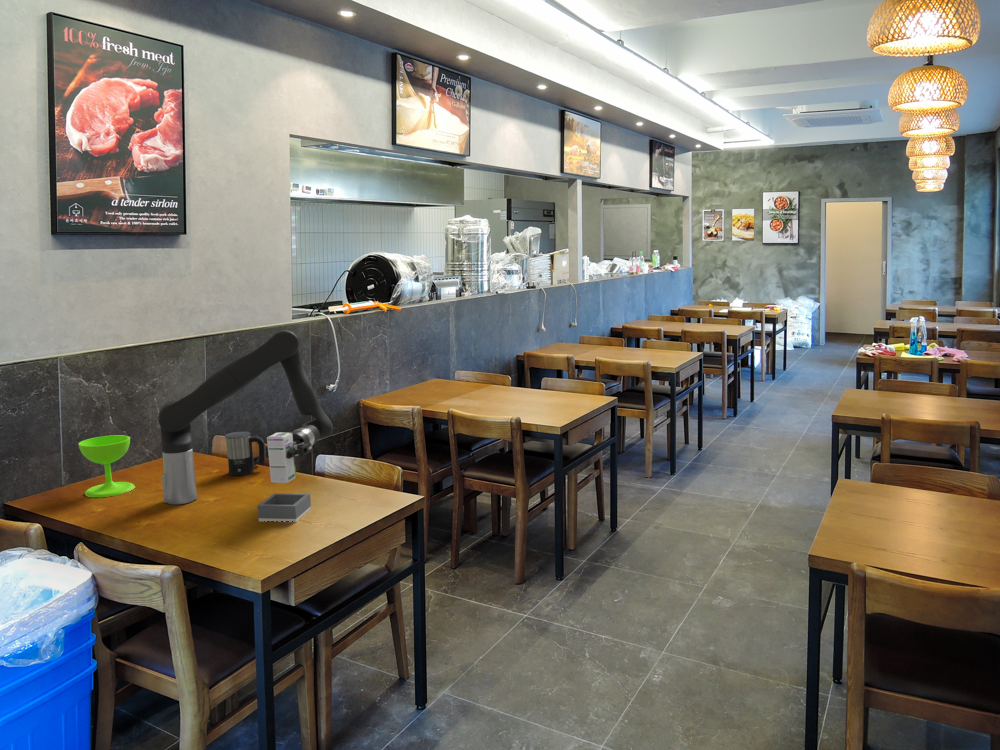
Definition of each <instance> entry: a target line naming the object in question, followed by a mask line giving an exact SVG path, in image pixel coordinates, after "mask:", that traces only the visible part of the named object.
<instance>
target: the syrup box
mask: <svg viewBox="0 0 1000 750" xmlns="http://www.w3.org/2000/svg"><path fill="white" fill-rule="evenodd" d="M266 442H267V445H268V455H269V458H268V464H269V474H270V481H271V483H276V484H289V483H290V482H291V481H293V480H294V479H296V478H297V472H296V471H297V468H296V461H295V457H296V456H294V457H292V458H291V459H288V457H287V452H288V451H289V450H291V449H293V447H294V446H293V435H292V432H283V431H282V432H275V433H273V434H271V435H269V436H267V437H266Z"/></svg>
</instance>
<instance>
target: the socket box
mask: <svg viewBox="0 0 1000 750" xmlns="http://www.w3.org/2000/svg"><path fill="white" fill-rule="evenodd" d="M310 509H312V505H311V493H279V492H278V493H275V492H274V493H273V494H271V495H270V496H269V497H267V498H266V499H264V500H263V501H261V502H260V503H259V504H258V505H257V515H258V522H264V521H265V523H267V521H270V523H272V522H271V521H274V522H275V523H276V521H278V522H277V523H287V522H286V521H289V522H288V523H297V522H298V521H300V520H301V519H302V518H303V517H304V516H305V515H306V514H308V513H309V512H310V511H311V510H310ZM309 510H310V511H309ZM303 515H304V516H303ZM302 516H303V517H302ZM301 517H302V518H301ZM300 518H301V519H300ZM281 521H283V522H281ZM292 521H293V522H292ZM296 521H297V522H296Z"/></svg>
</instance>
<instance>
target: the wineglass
mask: <svg viewBox="0 0 1000 750" xmlns="http://www.w3.org/2000/svg"><path fill="white" fill-rule="evenodd" d="M130 444H131V437H130V436H128V435H122V434H121V435H120V434H119V435H117V434H114V435H103V436H96V437H92V438H91V437H90V438H87V439H84V440H81V441H79V442H78V448H79V451H80V452H81V454H82V456H83V457H85V458H86V459H87V460H88V461H90V462H93V463H95V464H100V465H103V466H104V475H105V482H104V483H102V484H97V485H94V486H92V487H89V488H88V489H86V490H85V491H84V494H85V495H86V496H88V497H107V496H114V495H119V494H122V495H124V494H123V493H126V492H129V491H131V490H133V489H134V488H135V489H136V486H135V484H134V483H131V482H128V481H113V478H112V467H111V464H112V463H114V462H117V461H119V460H120V459H121V458H123V457H124V456H125V455H126V453H127V452H128V450H129V448H130ZM135 489H134V490H135ZM134 490H133V491H134ZM131 492H132V491H131ZM129 493H130V492H129ZM126 494H127V493H126ZM119 496H120V495H119ZM88 497H87V498H88ZM114 497H115V496H114ZM107 498H108V497H107Z"/></svg>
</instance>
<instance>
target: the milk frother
mask: <svg viewBox="0 0 1000 750" xmlns="http://www.w3.org/2000/svg"><path fill="white" fill-rule="evenodd" d="M224 438H225V442H226V453H227V462H228V473H227V474H228V475H229V476H233V475H235V477H236V475H240V476H245V475H249V474H252V473H254V472H255V466H256V465H257V464H260V465H259V466H264V465H265V463H266V450H265V447H266V443H265V441H264V439H263V438H262V437H261V436H258V435H251V432H250V431H235V432H231V433H230V432H229V433H226V434H225V435H224ZM253 443H257V445H258V455H256V456H254V452H253Z"/></svg>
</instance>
